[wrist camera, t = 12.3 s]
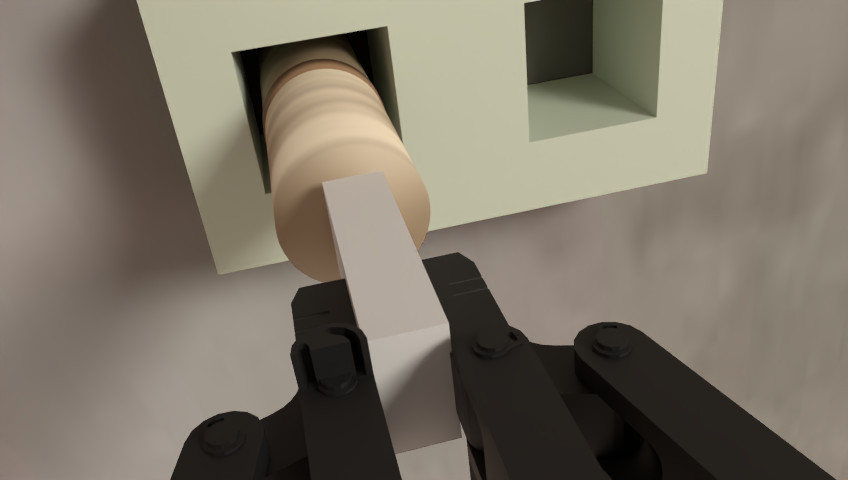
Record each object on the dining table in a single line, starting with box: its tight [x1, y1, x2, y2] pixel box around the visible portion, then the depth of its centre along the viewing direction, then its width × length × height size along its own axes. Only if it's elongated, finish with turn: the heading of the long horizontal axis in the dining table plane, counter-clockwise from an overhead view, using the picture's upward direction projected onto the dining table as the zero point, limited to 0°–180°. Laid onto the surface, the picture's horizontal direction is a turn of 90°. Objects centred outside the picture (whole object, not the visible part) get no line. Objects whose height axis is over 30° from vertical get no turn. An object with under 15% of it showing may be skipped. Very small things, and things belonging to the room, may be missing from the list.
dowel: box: [258, 34, 431, 283], centre depth 25 cm, size 4×4×14 cm
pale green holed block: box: [137, 0, 723, 275], centre depth 29 cm, size 11×20×6 cm, turn 97°
